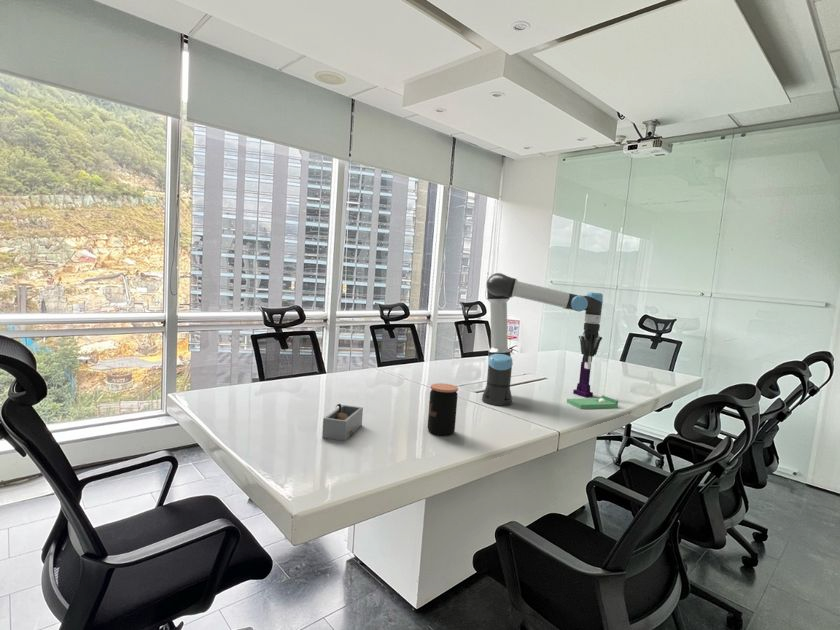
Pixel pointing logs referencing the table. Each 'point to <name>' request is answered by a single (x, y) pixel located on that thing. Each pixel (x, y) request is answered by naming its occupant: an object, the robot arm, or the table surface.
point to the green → (593, 403)
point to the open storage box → (342, 423)
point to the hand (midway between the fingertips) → (587, 368)
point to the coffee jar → (442, 409)
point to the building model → (583, 382)
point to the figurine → (342, 416)
